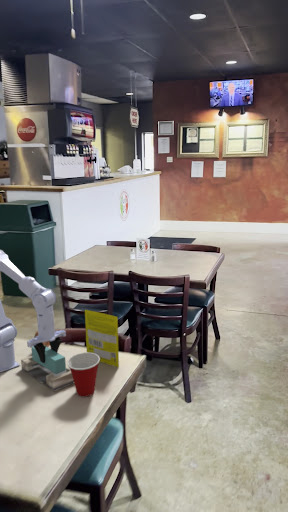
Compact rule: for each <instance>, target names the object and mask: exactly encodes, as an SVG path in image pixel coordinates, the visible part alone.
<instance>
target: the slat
mask: <svg viewBox="0 0 288 512" xmlns="http://www.w3.org/2000/svg"><path fill="white" fill-rule="evenodd" d="M31 356H32V360H34V361H36V362H37V363H39V364H40V365H42V366H44V367H45V368H47V369H49V370H50V371H52V372H53V373H55V374H58V373H60V372H63V371H66V368H67V365H66V364H67V363H66V356H64V355H62V354H61V353H59V352H55V351H53V350H52V349H51V347H49V346H48V347H46V349H45V363H42V362H41V361H40V358H39V355H38V353H37V351H36V349H35V348H34V346H33V347H31Z"/></svg>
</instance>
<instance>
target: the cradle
mask: <svg viewBox="0 0 288 512" xmlns="http://www.w3.org/2000/svg"><path fill="white" fill-rule="evenodd" d="M20 363H21V365H20V366H21V370H22V371H24V372H25V373H26V374H28V375H29V376H31V377H32V378H33V379H35V380H37V381H38V382H40V383H41V384H43V385H44V386H46V387H47V388H49V389H50V390H52V391H53V392H57V391H58V390H60V389H63V388H65V387H67V386H70V385H72V384H74V380H73V376H72V372H71V370H70V368H69V367H68V366H66V370H65V371H63V372H60V373H58V374H55V373H53V372H52V371H50V370H49V369H47V368H45V367H44V366H42V365H40V364H39V363H37V362H36V361H34V360H32V355H30V356H27V357H24V358H21V359H20Z"/></svg>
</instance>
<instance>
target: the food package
mask: <svg viewBox="0 0 288 512" xmlns="http://www.w3.org/2000/svg"><path fill="white" fill-rule="evenodd" d="M84 318H85V320H84V321H85V322H84V323H85V341H86V343H85V344H86V347H85V348H86V353H94V354H97V355H98V356H99V357H100V361H99V363H103V364H107V365H109V366H113V367H117V368H120V364H119V363H120V361H119V358H120V357H119V324H118V322H119V321H118V320H119V318H118V316H115V315H111V314H107V313H104V312H103V313H102V312H98V311H93V310H88V309H84Z"/></svg>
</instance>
